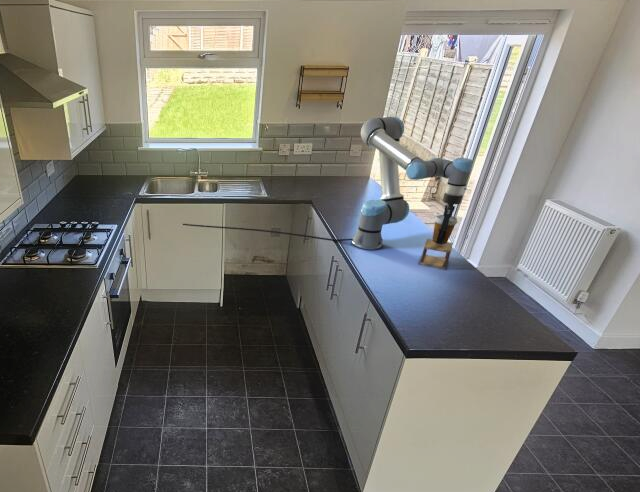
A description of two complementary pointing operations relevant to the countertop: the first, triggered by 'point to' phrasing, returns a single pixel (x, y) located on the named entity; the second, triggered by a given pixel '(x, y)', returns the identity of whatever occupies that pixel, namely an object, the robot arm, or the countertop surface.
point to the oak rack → (434, 260)
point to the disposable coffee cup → (449, 228)
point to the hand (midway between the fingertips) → (439, 240)
